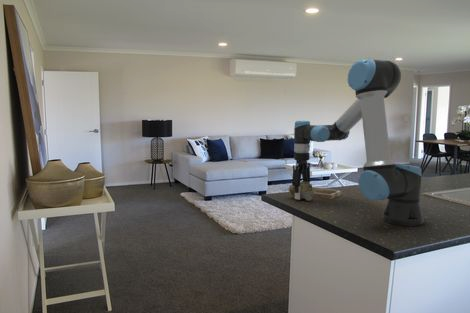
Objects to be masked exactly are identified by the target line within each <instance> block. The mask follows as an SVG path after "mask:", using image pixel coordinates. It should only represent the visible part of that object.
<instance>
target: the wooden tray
mask: <svg viewBox="0 0 470 313" xmlns="http://www.w3.org/2000/svg"><path fill="white" fill-rule="evenodd" d="M312 188H313V191H314V194H313V195H312V198H313V197H314V198H319V199H326V200H332V199H335V198H337V197H339V196H342V195H343V194H342V193H343V192H342V190H337V189H331V188H324V187H318V186H312Z"/></svg>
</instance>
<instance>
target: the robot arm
mask: <svg viewBox="0 0 470 313" xmlns="http://www.w3.org/2000/svg"><path fill="white" fill-rule="evenodd" d="M401 79H402V71H401V69H400V67H399V66H398V65H397V64H396V63H395V62H393V61H390V60H383V59H382V60H381V59H373V58H367V59H365V58H364V59H363V58H361V59H359V60H357V61H356V62H354V63H353V64H352V65H351V68H349V70H348V74H347V84H348V87H350V88H351V89H352V90H353V91H354V93H355V97H356V100H355V101H354V102H353V103H351V105H350V106H349V107H348V108H347V109H346V110H345V111H344V112H343V114H342V115H340V117H339V118H337V120H336V121H335V122H333V123H332V124H322V125H321V124H317V125H315V124H314V125H313V124H311V122H310V120H295V122H294V128H293V130H294V135H293V137H294V138H293V139H294V140H293V141H294V143H293V144H294V145H293V146H294V148H293V152H294V153H293V160H294V161H296V163H295V164H293V165H292V180H291V183H292V184H291V185H293V186H295V198H294V199H295V200H297V201H298V200H299V201H300V200H301V198H300V183H301V179H302V181H305V182H309V183H310V184H311V162H308V161H309V160H310V158H311V157H310V155H311V153H310V152H311V151H310V147H311V145H310V144H311V142H316V143H325V142H328V141H329V142H330V141H344V140H346V139H348V138H349V136H350V132H351V131H350V130H351V129H352V128H354V127H355V126H356V125H357V123H359V122H360V121H361V120H362V128H363V137H364V147H365V155H366V162H365V163H364V164H363V166H362V168H363V171H362V172H361V173H360V176H359V177H358V182H357V183H358V188H359V191H360V192H361V193H362V194H363V196H364V197H366V199H369V200H371V201H384V200H387V202H386V205H385V207H384V209H383V212H382V220H383V221H384V222H387V223H389V224H392V225H396V226H403V227H417V226H421V225H423V224H424V214H423V211H422V207H421V203H420V201H421V188H422V185H421V184H422V178H423V175H422V168H421V167H419V166H417V165H411V164H406V163H405V164H404V163H396V162H394V161H393V160H392V159H391V151H390V144H389V141H390V140H389V133H388V122H387V116H386V107H385V106H386V103H385V99H387V98H389V97H390V95H391V94H393V93H394V91H396V89H397V87H399V85H400V83H401Z"/></svg>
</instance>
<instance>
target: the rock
mask: <svg viewBox="0 0 470 313" xmlns="http://www.w3.org/2000/svg"><path fill="white" fill-rule="evenodd" d="M312 187H313V184H312V183H311V182H310V183H309V182H305V181H303V180H302V181H300V200H302V199H305V201H312V198H313V196H312V195H313V194H314V192H315V191H313V188H312ZM288 194H289V197H290V198H292V199H295V186H293V185H292V184H289V186H288Z"/></svg>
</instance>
